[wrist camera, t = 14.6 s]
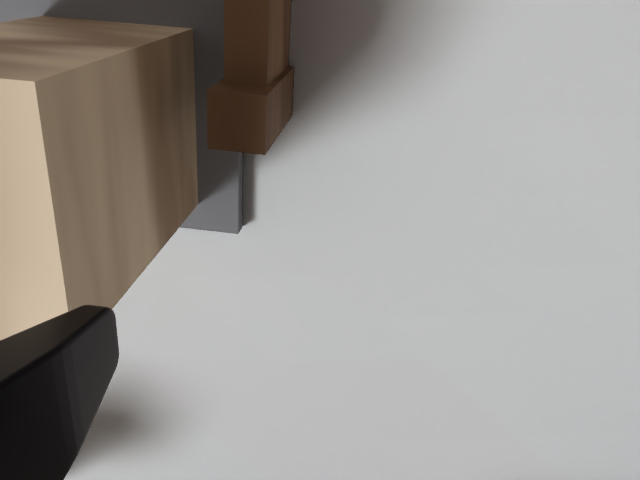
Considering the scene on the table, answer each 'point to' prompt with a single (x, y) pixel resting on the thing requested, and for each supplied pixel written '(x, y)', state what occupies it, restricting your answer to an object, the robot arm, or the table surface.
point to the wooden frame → (252, 78)
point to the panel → (208, 33)
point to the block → (90, 159)
